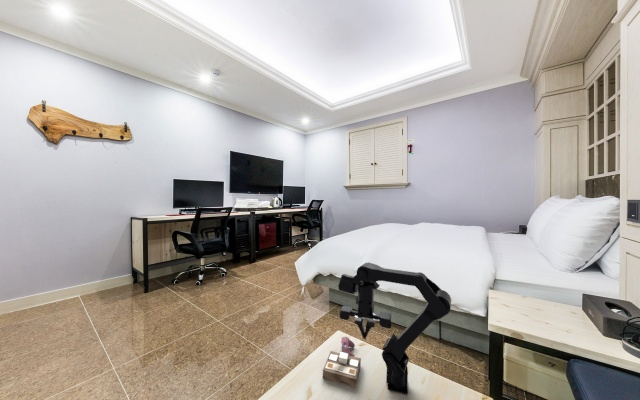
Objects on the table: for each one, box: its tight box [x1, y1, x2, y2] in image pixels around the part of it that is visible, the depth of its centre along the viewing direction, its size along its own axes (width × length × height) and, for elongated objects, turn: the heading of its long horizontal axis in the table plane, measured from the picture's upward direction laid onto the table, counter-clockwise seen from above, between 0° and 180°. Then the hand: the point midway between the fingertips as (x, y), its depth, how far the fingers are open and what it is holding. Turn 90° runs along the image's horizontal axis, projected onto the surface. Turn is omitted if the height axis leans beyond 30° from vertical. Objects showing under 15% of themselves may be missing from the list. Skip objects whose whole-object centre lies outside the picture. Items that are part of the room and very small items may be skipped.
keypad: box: [322, 350, 362, 389], centre depth 84 cm, size 12×11×3 cm
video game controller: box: [340, 336, 356, 357], centre depth 94 cm, size 10×5×7 cm, turn 175°
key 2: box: [349, 359, 359, 368], centre depth 85 cm, size 3×3×2 cm
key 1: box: [328, 353, 338, 362], centre depth 87 cm, size 3×3×2 cm
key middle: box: [339, 351, 348, 365], centre depth 86 cm, size 3×3×2 cm
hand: (364, 338), depth 85 cm, fingers closed
